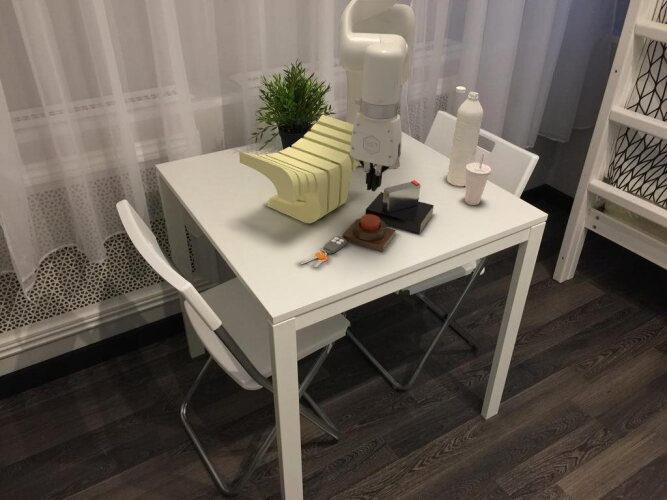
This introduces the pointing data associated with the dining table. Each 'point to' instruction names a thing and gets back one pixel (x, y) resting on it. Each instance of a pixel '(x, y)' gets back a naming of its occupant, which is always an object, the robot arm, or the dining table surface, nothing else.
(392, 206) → the silver metal block
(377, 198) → the plate
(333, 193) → the slatted curved stool
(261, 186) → the dining table surface
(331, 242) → the key chain
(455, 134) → the water bottle
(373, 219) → the button
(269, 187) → the dining table surface
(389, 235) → the button block
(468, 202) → the smoothie
